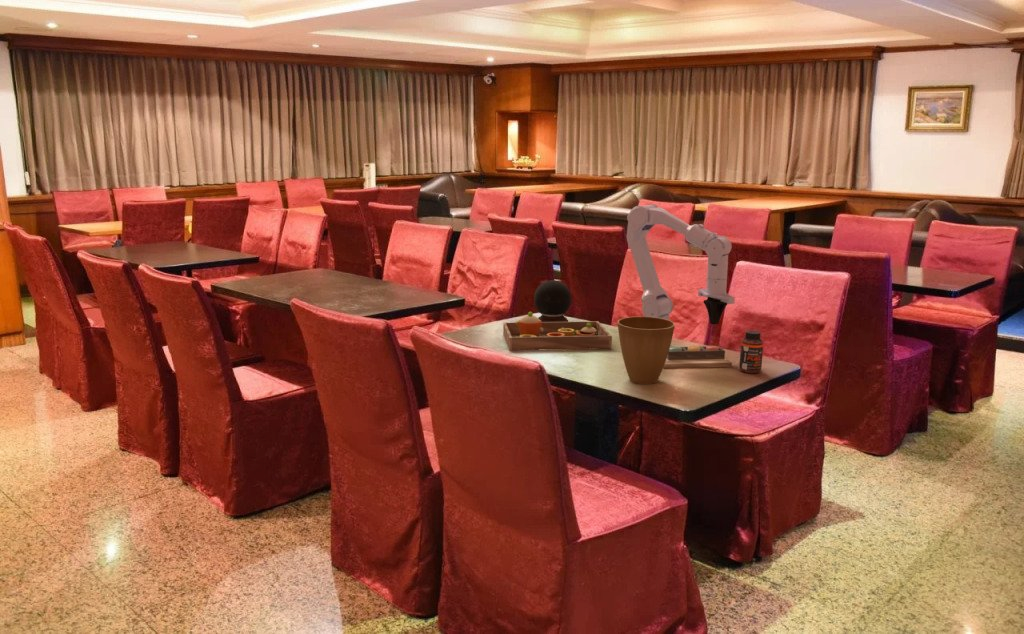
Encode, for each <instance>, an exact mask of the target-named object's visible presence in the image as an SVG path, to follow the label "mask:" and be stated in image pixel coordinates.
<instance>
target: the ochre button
mask: <svg viewBox="0 0 1024 634" xmlns="http://www.w3.org/2000/svg"><path fill="white" fill-rule="evenodd" d="M687 347H688V351H700V347H701V346H696V345H691V346H690V345H689V346H687Z"/></svg>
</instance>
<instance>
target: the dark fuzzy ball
mask: <svg viewBox="0 0 1024 634" xmlns="http://www.w3.org/2000/svg"><path fill="white" fill-rule="evenodd" d="M534 292H535V293H534V295H533V302H534V306H535V308H536V310H537V312H538V313H539V314H540V316H538V317H537V318H539V320H541V321H542V322H569V320H568V317H566V316H565V314H566V313H567V312H568V311H569V310H570V309H571V308H570V307H571V305H572V299H573V298H572V297H573V296H572V294H571V291H570V288H569V287H568V286H567V285H566V284H565V283H563V282H562V281H560V280H554V279H551V280H546V281H545V282H543V283H541V284H540V285H539V286H538V287H537V288H536V289H535V291H534Z"/></svg>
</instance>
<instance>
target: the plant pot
mask: <svg viewBox="0 0 1024 634" xmlns="http://www.w3.org/2000/svg"><path fill="white" fill-rule="evenodd" d="M675 326H676V324H675V322H673V321H672V320H670V319H669V320H666V319H662V318H655V317H645V316H644V315H643V316H642V315H641V316H638V315H637V316H629V317H624V318H623V317H622V318H620V319H618V320H617V328H618V329H617V330H618V338H619V344H620V345H619V346H620V350H621V355H622V358H623V359H622V360H623V363H624V367H625V370H626V373H627V377H628V378H629V379H628V380H629V381H630V382H632V383H634V384H638V385H652V384H655V383H657V382H658V380H659V379H660V376H661V374H662V371H663V369H664V368H663V367H664V364H665V361H666V358H667V355H668V352H669V349H670V347H671V346H672V345H671V344H672V341H673V336H674V332H675Z"/></svg>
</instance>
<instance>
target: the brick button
mask: <svg viewBox="0 0 1024 634" xmlns="http://www.w3.org/2000/svg"><path fill="white" fill-rule="evenodd" d="M717 346H718V345H707V346H706V350H707V351H716V350H719V347H720V346H719V347H717Z"/></svg>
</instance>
